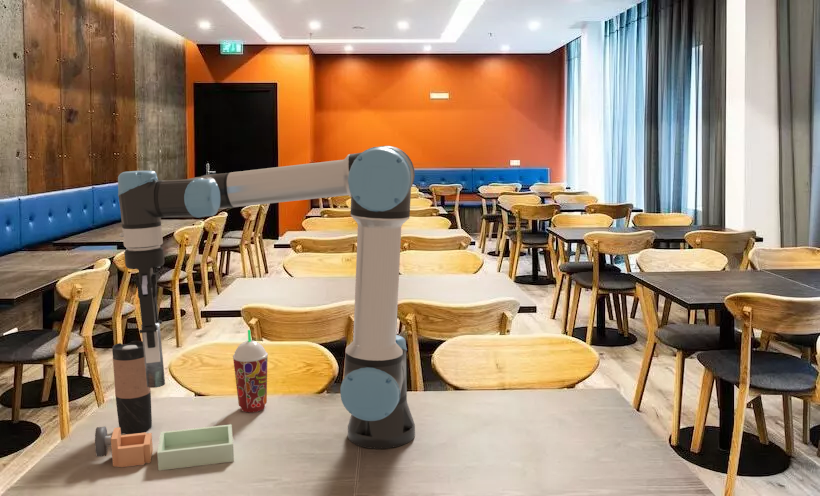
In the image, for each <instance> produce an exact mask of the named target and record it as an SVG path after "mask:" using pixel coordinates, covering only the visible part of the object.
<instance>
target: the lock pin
mask: <svg viewBox="0 0 820 496" xmlns="http://www.w3.org/2000/svg"><path fill="white" fill-rule="evenodd" d="M140 327H141V329H142V324H140ZM156 327H157V330H158V340H159V351H160V362H153V363H146V355H145V344H144V334H143V333H141V335H142V337H141V338H142V341H143V349H144V360H145V370H146V381H147V387H149V388H150V389H153V388H159V387H160V388H161V387H163V386H165V385H166V380H165V379H166V377H165V368H164V366H165V365H164V357H163V356H164V355H163V347H162V346H163V345H162V334H161V324H160V323H159V322H156Z"/></svg>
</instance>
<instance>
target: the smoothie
mask: <svg viewBox="0 0 820 496" xmlns="http://www.w3.org/2000/svg"><path fill="white" fill-rule="evenodd" d="M251 333H252V332H251V329H248V330H247V340H246V341H243V342H242V343H240V344H239V345H237V348H236V349H235V351H234V354H233V355H232V359H233V369H234V375H235V384H236V393H237V402H238V406H239V407H240V409H241V411H242V412H244V413H257V412H261V411H262V410H264V409H265V406H266V404H267V403H268V402H267V401H268V355H269V353H268V352H267V351H266V349H265V348H264V346H263V344H261V343H259V341H256V340H252V335H251Z"/></svg>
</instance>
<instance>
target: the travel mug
mask: <svg viewBox="0 0 820 496" xmlns="http://www.w3.org/2000/svg"><path fill="white" fill-rule="evenodd" d="M111 350H112V351H111V352H112V365H113V380H114V395H115V404H116V411H117V412H116V413H117V420H118V421H117V422H118V427H120V429H121V434H122V435H127V434H136V433H145V432H146V433H147V432H148V431H149V430H150V429H152V426H153V425H152V424H153V423H152V422H153V421H152V420H153V419H152V395H151V394H152V393H151V392H152V391H151V389H152V388H149V387H147V381H146V370H145V360H144V349H143V340H131V341H130V342H129V343H124V344H123V343H121V342H118V343H116V344H114V345H112V349H111Z"/></svg>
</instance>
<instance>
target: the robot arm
mask: <svg viewBox="0 0 820 496" xmlns="http://www.w3.org/2000/svg"><path fill="white" fill-rule="evenodd" d="M157 174H158V173H157V172H156V171H155V170H132V171H130V170H129V171H123V172H121V173H120V174H119V175H118V176H117V189H118V190H117V192H118V193H117V197H118V201H119V208H120V210H119V211H120V218H121V229H122V232H119V237H120V238H123V239H122V240H123V247H125V248H126V249H125V250H124V253H123V254H124V264H125V267H126V269H129V270H138V274H136V277H135V286H137V297H138V299H139V306H140V307H139V308H140V318H141V325H142V328H141V329H139V334H142V333H143V334H144V344H145V355H146V363H153V362H160V351H159V340H158V330H157V327H156V322H159V323H160V325H162V324H163V320H162V319H160V315H159V310H158V299H157V294H158V284H157V283H158V274H157V273H155V272H154V269H155V268H159V267H160V268H161V267H162V266H164V264H165V251H164V248H163V247H162V246H161V245H163V244H164V239H163V226H162V221H161V219H162V218H163V219H165V218H196V219H197V218H199V219H201V218H205V217H213V216H216V214H217V213H218V212H219V210H222V209H231V208H232V209H233V208H239V207H250V206H259V205H269V204H277V203H285V202H287V203H288V202H294V201H295V202H296V201H305V200H307V201H308V200H314V199H315V200H316V199H322V198H324V199H326V198H333V197H343V196H349V197H350V217H351V218H352V219H353V220H354V221H355V222H356V223H357V235H356V239H357V240H356V258H355V259H356V262H355V286H354V315H353V319H354V320H353V335H352V338H353V340H352V341H351V342H350V343H349V344H348V345H347V346H346V347H345V351H344V352H345V354H344V356H345V357H344V376H343V379H342V381H341V384H340V389H339V390H340V400H341V403H342V405H343V407H344V408H345V409H346V411H348V413H349V414H350V417H349V421H348V425H347V438H348V440H349V441H350V442H351V443H352V444H354V445H357V446H358V447H363V448H368V449H381V450H382V449H390V448H391V449H392V448H396V447H400V446H404V445H406V444H408V443H410V442H411V441H413V439H414V438H415V436H416V425H415V424H416V423H415V422H414V418H413V415H412V412H411V409H410V407H409V404H408V399H407V397H408V395H407V393H408V391H407V389H408V388H407V352H408V349H407V348H408V347H407V345H406V344H407V342H406V339H405V337H403V336H402V335H398V334H397V324H398V322H397V321H398V306H399V305H398V303H399V302H398V301H399V282H400V281H399V280H400V263H401V262H400V261H401V243H402V242H401V241H402V239H401V238H402V226H403V225H404V224H405V223H406V222H407V221H408V220H409V219H410V218H411V217H410V216H411V214H410V213H411V200H412V199H411V197H412V195H411V194H412V187H413V185H414V181H415V176H416V173H415V167H414V164H413V162H412V159H411V158H410V156H409V155H408V154H407V153H406V152H405V151H404V150H402V149H400V148H398V147H396V146H391V145H381V146H373V147H370V148H368V149H365V150H364V151H362V152H357V153H349V154H347V155H346V157H345V158H344V159H338V160H337V159H336V160H329V161H321V162H311V163H303V164H302V163H301V164H294V165H285V166H276V167H267V168H258V169H250V170H243V171H241V170H240V171H233V172H232V171H231V172H225V173H224V172H223V173H208V174H204V175H201V176H196V177H191V178H186V179H185V178H184V179H166V180H164V179H163V180H162V179H159V178H158V175H157ZM153 268H154V269H153Z"/></svg>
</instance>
